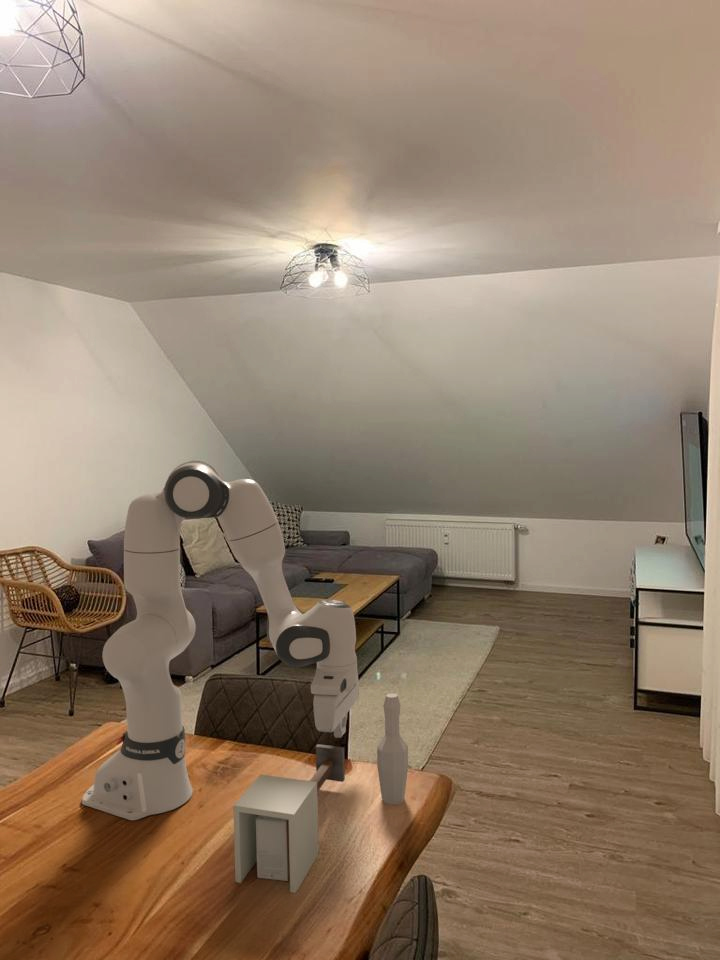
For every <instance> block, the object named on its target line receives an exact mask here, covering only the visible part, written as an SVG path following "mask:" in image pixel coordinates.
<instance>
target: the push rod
mask: <svg viewBox="0 0 720 960" xmlns="http://www.w3.org/2000/svg"><path fill="white" fill-rule="evenodd" d="M315 767H316V768H315V770H316V772H315V773H314V774H313V775H312V777H311V778H310V780H309V781H313V782H317V793H318V792H319V791H320V789H321V788H322V786H324V783H325V782H326V780H327V781H334V782H341V783H342V782H343V783H344V781H345V779H346V777H345V776H346V775H345V773H346V772H345V771H346V770H345V767H346V766H345V747H344V746H334V745H326V744H320V743H318V744H316V746H315Z"/></svg>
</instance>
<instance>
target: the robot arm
mask: <svg viewBox="0 0 720 960" xmlns="http://www.w3.org/2000/svg"><path fill="white" fill-rule="evenodd" d="M212 518H213V519H215V518H217V519H218V520H219V521H220V523H221V525H222V527H223V531H224V532H225V536H226V538H227V540H228V542H229V545H230V548H231V549H232V551H233V554H234V556H235V558H236V559H237V561H238V562H239V565H240V566H241V567H242V568H243V569H244V571H245V572H247V573H248V574H249V575H250V576H251V578H253V580H254V582H255V585H256V586H257V589H258V592H259V594H260V597H261V600H262V602H263V605H264V607H265V611H266V615H267V622H266V637H267V640H268V642H269V644H270V645H271V647H272V648H273V649H274V651H275V654H276V655H277V657H278V659H279V660H280V661H281V662H282V663H283V664H284V665H286V666H287V667H291V668H300V667H306V666H309V665H312V664H316V670H315V675H314V678H313V679H312V682H311V684H310V692H311V694H313V704H312V705H313V715H314V717H313V718H314V724H315V728H316V730H317V731H318V732H323V733H333V736H334V738H337V739H341V738H342V737H343V735H344V734H345V733H346V732H347V729H346V727H347V726H346V725H347V720H348V713H349V712H350V710H351V709H352V708H353V706H354V705H355V703H357V701H358V700H359V696H360V683H359V682H360V681H359V675H358V657H357V653H356V650H355V649H356V648H355V647H356V643H357V631H356V630H357V628H356V620H355V615H354V611H353V609H352V607H351V606H350V605H349V604H348V603H346V602H344V601H341V600H338V599H328V598H327V599H321V600H318V602H317V603H316V604H315V605H314V606H312V608H310V609H309V610H307V611H306V612H303V611H302V610H301V609H299V607H297V606H296V604H295V602H294V601H293V599H292V595H291V592H290V590H289V587H288V585H287V582H286V578H285V576H284V573H283V560H284V557H285V555H286V547H285V542H284V541H285V540H284V536H283V532H282V529H281V526H280V523H279V521H278V517H277V516H276V513H275V511H274V508H273V506H272V504H271V502H270V500H269V498H268V496H267V495H266V493H265V492H264V490H263V489H262V487H261V486H260V484H259V483H258V482H257V481H255V480H254V479H251V478H241V479H235V480H232V481H224V480H223V479H221V478H220V477H219V474H218V472H217V471H216V470H215V469H214V467H212V466H211V465H210V464H209V463H206V462H205V461H202V460H201V461H200V460H190V461H186V462H183V463H181V464H179V465H177V466H176V467H175V468H174V469H173V470H172V471H171V472H170V474H169V476H168V477H167V479H166V482H165V484H164V488H163V489H162V491H161V492H158V493H149V494H147V493H146V494H144V495H141V496H138V497H137V498H135V499H133V500H132V501H131V502H130V504H129V507H128V510H127V515H126V519H125V527H124V534H123V535H124V536H123V537H124V538H123V586H124V588H125V590H126V591H127V593H129V594H130V595H131V596H132V598H133V601H134V603H135V608H136V613H137V614H136V618H135V619H134V620H132V621H130V622H128V623H126V624H124V625H122V626H120V627H119V628H118V629H117V630H116V631H115V632H114V633H113V634H112V635H111V636H110V637H109V638H108V639H107V640H106V642H105V643H104V645H103V649H102V662H103V665H104V667H105V669H106V671H107V673H109V674H110V675H111V676H112V677H113V678H115V679H117V680H118V682H119V684H120V686H121V688H122V693H123V694H124V695H123V696H124V701H125V706H126V707H125V709H126V724H127V725H126V726H127V730H126V731H125V732H123V733H122V735H121V736H120V737H118V738H116V740H115V741H117V742H116V743H115V745H117V746H118V745H119V744H121V743H122V745H121V747H120V749H119V750H117V751H116V752H115V753H114V754H112V755H111V756H109V758H108V759H107V760H105V761H104V762H103V763H102V764H101V765H100V766H99V767H98V769H97V771H96V773H95V776H94V779H93V780H94V781H93V784H92V785H91V786H90V787H89V788H88V789H87V790H86V791H85V793H84V794H83V796H82V799H81V804H82V805H84V806H86V807H90V808H92V809H95V810H99V811H102V812H104V813H107V814H110V815H112V816H113V815H114V816H116V817H120V818H122V819H126V820H129V821H137V820H140V819H143V818H145V817H148V816H152V815H157V814H162V813H163V814H164V813H166V812H170V811H172V810H175V809H177V808H179V807H181V806H182V805H184V804H185V803H186V802H188V801H189V800H190V799H191V797H192V795H193V793H194V792H193V791H194V789H193V787H192V784H191V781H190V778H189V774H188V770H187V769H188V768H187V765H186V764H187V763H186V757H185V755H186V734H185V733H186V732H185V731H186V730H185V726H184V725H183V706H182V705H183V704H182V703H183V701H182V699H183V698H182V692H181V690H180V688H179V687H178V686H176V685H175V684H174V683H173V681H172V678H171V673H170V663H171V660H173V659H174V658H176V657H177V656H179V655H180V654H181V653H183V652H184V651H185V650H186V649H187V648H188V646H190V644H191V642H192V640H193V639H194V637H195V634H196V627H197V625H196V620H195V619H194V616H193V615H192V613H191V612H190V611H189V610H188V609H187V607H186V603H185V600H184V596H183V592H182V586H181V527H182V524H183V521H185V519H187V520H199V519H212Z"/></svg>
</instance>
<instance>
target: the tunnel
mask: <svg viewBox="0 0 720 960" xmlns="http://www.w3.org/2000/svg"><path fill="white" fill-rule="evenodd" d="M318 808H319V807H318V792H317V782H313V781H310V780H305V779H297V778H290V777H283V776H282V777H281V776H275V775H267V774H260V775H258V777H257V778H256V779H255V780H254V781H253V782H252V783H251V785H249V787H248V788H247V789H246V790H245V791H244V793H242V795H241V796H240V798H238V799H237V800H236V802H235V803H234V804H233V808H232V809H233V840H234V844H233V845H234V871H235V872H234V873H235V874H234V876H235V879H234V880H235V881H234V882H235V883H238V884H239V883H240V884H241V883H242V882H243V881H244V879H245V878H246V877H247V875H248V874H249V872H250V871H251V870H252V868H253V867H254V865H256V864H257V850H256V819H257V817H258V816H259V815H262V816H269V817H275V818H282V819H288V820H289V859H290V877H289V893H293V894H296V893H298V892H297V891H298V890H299V889H300V887H301V885H302V884H303V881H304V880H305V879H306V877H307V875H308V873H309V871H310V870H311V868H312V866H313V865H314V863H315V861H316V859H317V858H318V856H319V816H318V815H319V814H318V812H319V811H318Z"/></svg>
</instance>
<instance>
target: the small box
mask: <svg viewBox="0 0 720 960" xmlns="http://www.w3.org/2000/svg"><path fill="white" fill-rule="evenodd" d="M256 850H257V861H256V872H257V874H256V875H257V878H258V879H266V880H275V881H284V882H287V881H289V880H290V859H289V820H288V819H282V818H275V817H269V816H262V815H259V816H258V817H257V819H256Z"/></svg>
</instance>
